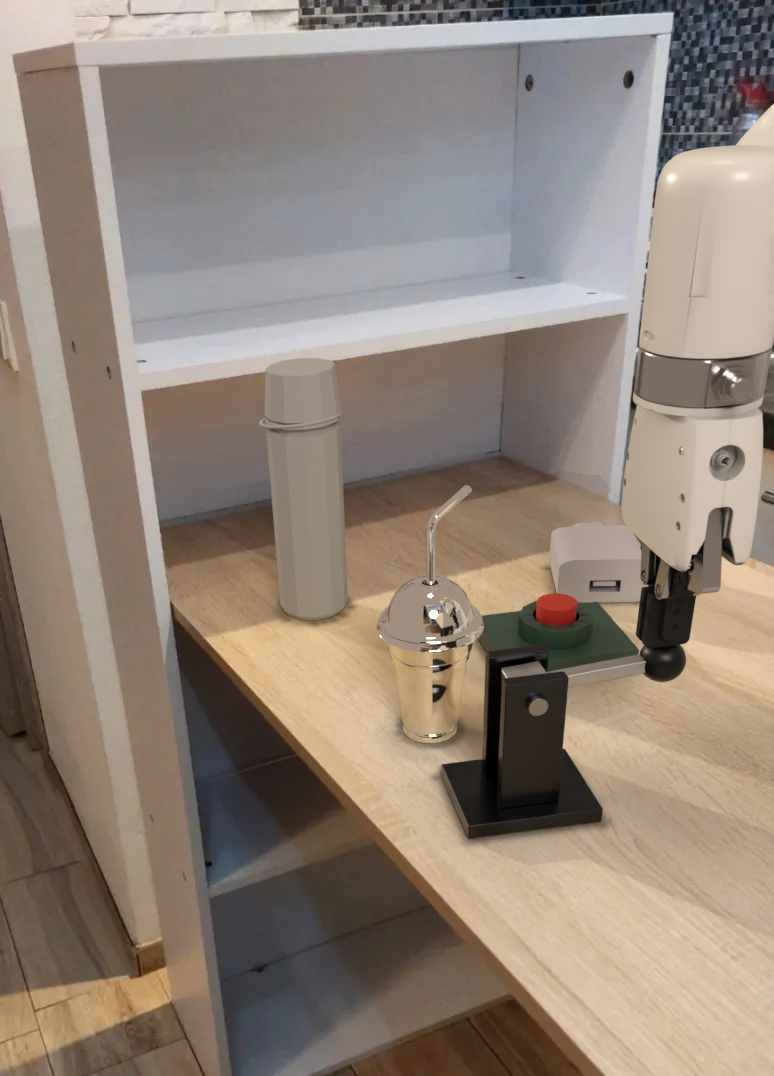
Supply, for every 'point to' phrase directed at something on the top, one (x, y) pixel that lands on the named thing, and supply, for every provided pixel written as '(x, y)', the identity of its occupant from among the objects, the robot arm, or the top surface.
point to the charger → (596, 563)
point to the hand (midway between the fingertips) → (661, 640)
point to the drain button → (556, 609)
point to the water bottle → (307, 486)
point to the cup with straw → (430, 643)
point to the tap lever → (615, 667)
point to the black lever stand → (521, 755)
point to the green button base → (560, 636)
